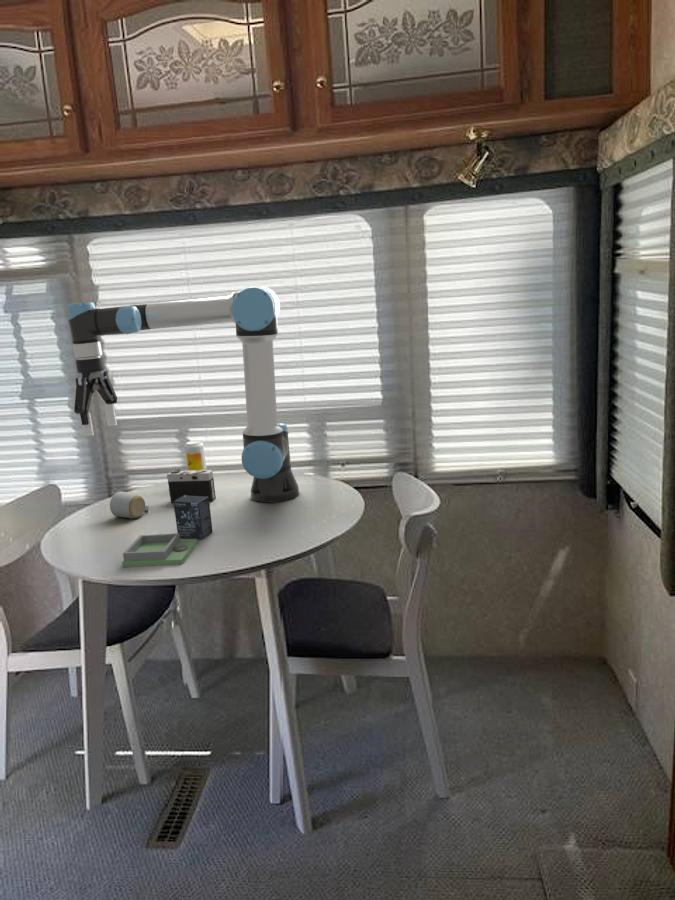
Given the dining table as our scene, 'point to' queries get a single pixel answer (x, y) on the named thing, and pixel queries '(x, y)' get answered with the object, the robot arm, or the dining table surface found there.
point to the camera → (191, 484)
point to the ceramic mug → (127, 505)
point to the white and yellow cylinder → (195, 455)
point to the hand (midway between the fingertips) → (101, 430)
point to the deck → (158, 550)
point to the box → (193, 516)
